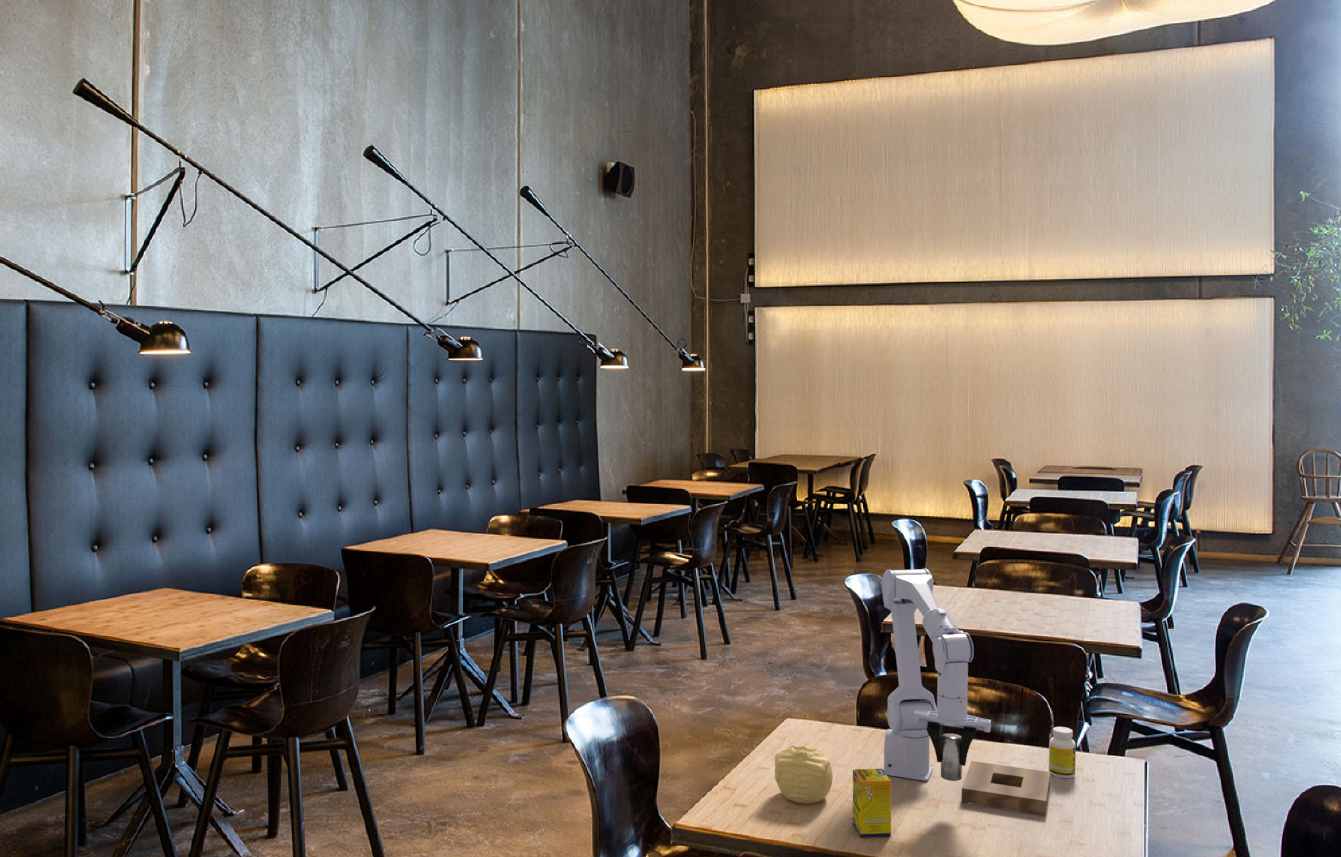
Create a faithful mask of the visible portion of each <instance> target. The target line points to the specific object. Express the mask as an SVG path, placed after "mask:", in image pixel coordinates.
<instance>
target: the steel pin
mask: <svg viewBox="0 0 1341 857" xmlns="http://www.w3.org/2000/svg"><path fill="white" fill-rule="evenodd" d="M961 755H962V738H961V734H960V735H959V734H956V733H942V736H941V762H940V777H941V778H942V779H943V780H946V781H952V782H958V781H960V780H962V777H963V766H961Z"/></svg>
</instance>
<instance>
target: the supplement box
mask: <svg viewBox="0 0 1341 857" xmlns="http://www.w3.org/2000/svg"><path fill="white" fill-rule="evenodd" d="M852 825H853V826H854V828H855V829H856V832H857V834H858V836H859V837H860V838H861V839H868V838H869V839H871V837H872V838H873V837H877V838H891V837H892V780H891V779H890V777H889V775H886V773H885V772H884V768H856V769H852ZM873 839H874V838H873Z"/></svg>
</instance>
